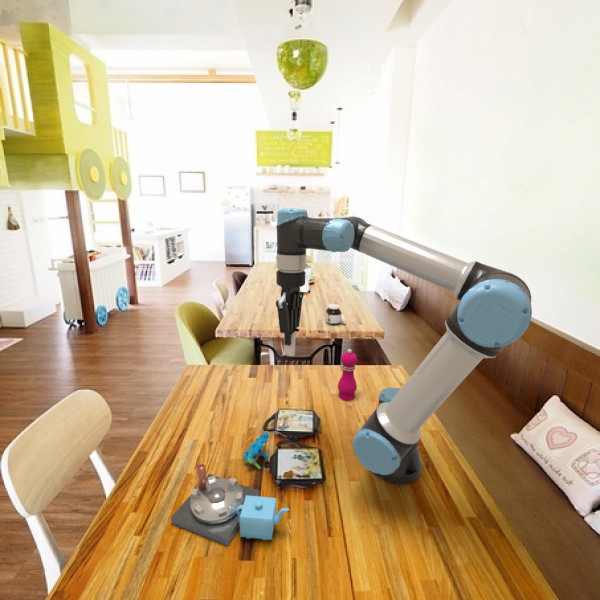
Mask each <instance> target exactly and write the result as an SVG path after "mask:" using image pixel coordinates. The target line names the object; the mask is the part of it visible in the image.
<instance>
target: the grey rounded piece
mask: <svg viewBox="0 0 600 600" xmlns="http://www.w3.org/2000/svg"><path fill="white" fill-rule="evenodd" d="M196 474H197V487H196V488H193V489H192V491H191V492H190V495H191V499H190V507H191V512H192V514H193V516H194V517H195V518H196V519H197V520H199V521H201V522H203V523H208V524H216V523H221V522H224V521H227V520H229V519H230V518H232V517H233V516H235V515H236V514H237V513H236V509H237V507H238V506H240V505H242V503H243V491H242V488H241V487H240V485H239V484H240V483H238V479H236V478H235V477H230V478H225V477H224V478H223V477H220V478H217V479H216V477H215V476H216V475H214V476H212V477H208V481H206V477H207V470H206V464H204V463H201V464H198V465H197V466H196ZM239 510H240V509H239Z"/></svg>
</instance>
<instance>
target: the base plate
mask: <svg viewBox="0 0 600 600" xmlns="http://www.w3.org/2000/svg"><path fill="white" fill-rule="evenodd" d="M212 476H215V477H216V479H217V478H221V477H220V476H216V475H214V474H210V473H209V474H207V475H206V481H208V477H212ZM238 484H239V485H240V487H241V488H242V491H243V503H242V505H243V504H244V501H245V497H246V495H248V496H259V497H260V490H259V489H256V488H253V487H250V486H248V485H244V484H241V483H238ZM190 499H191V494H190V495H189V496H188V497H187V499H185V501H183V503H182V504H181V505H180V506H179V507H178V508H177V510H176V511H175V512H174V513H173V514H172V516H171V517H170V518H171V524H172V525H173V526H176V527H179V528H180V529H183V530H186V531H189V532H192V533H194V534H197V535H198V536H201V537H203V538H206V539H208V540H211V541H214V542H216V543H218V544H221V545H224V546H225V547H228V546H229V544H230V543H231V542H232V540H233V538H234V537H235V536H236V534H237V532H238V531H239V530H240V528H239V527H240V523H239V518H240V517H239V516H238V515H237V514H236V515H235V516H233V517H232V518H230V519H229V520H227V521H224V522H221V523H216V524H208V523H203V522H201V521H199V520H197V519H196V518H195V517H194V516H193V514H192V512H191V507H190ZM239 511H240V513H241V511H242V509H240V510H239Z"/></svg>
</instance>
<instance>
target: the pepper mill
mask: <svg viewBox="0 0 600 600" xmlns="http://www.w3.org/2000/svg"><path fill="white" fill-rule="evenodd" d="M340 361H341V363H342V364H341V369H342V374H341V377H340V379H339V380H338V382H337V389H338V398H339V399H340V400H342V401H344V402H350V401H351V402H352V401H353V400H355V398H356V397H355V396H356V393H355V392H356V391H357V387H358V386H357V385H358V384H357V382H356V379H355V378H356V377H355V374H354V372H355V370H356V364H357V362H358V357H357V355H356V354H355V353H354V352H353V351H352V349H351V348H348V349H347V351H346V352H344V353H343V354H342V355H341V358H340Z"/></svg>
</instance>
